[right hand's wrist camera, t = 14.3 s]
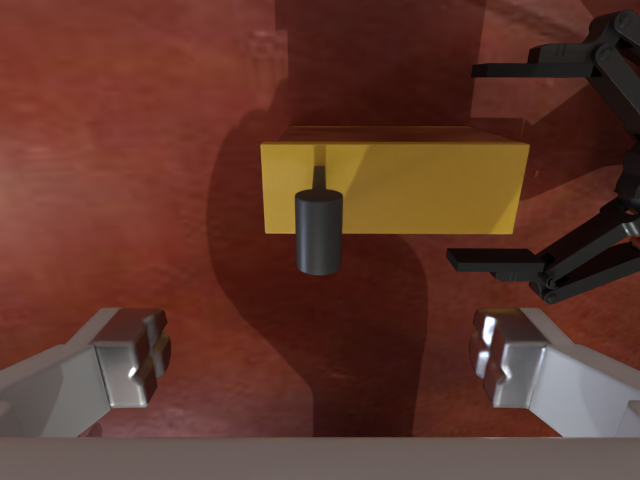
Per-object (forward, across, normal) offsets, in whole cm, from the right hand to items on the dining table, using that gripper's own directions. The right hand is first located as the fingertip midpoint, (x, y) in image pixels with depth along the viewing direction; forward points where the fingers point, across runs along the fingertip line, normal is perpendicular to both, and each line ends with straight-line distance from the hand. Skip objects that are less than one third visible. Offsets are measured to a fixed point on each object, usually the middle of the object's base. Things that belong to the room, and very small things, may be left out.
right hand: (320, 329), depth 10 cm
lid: (+16, +4, 0) cm, 16 cm away
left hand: (+19, +10, 0) cm, 22 cm away
